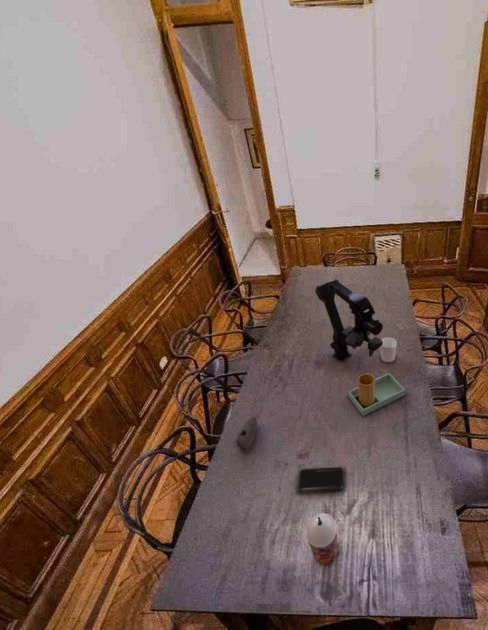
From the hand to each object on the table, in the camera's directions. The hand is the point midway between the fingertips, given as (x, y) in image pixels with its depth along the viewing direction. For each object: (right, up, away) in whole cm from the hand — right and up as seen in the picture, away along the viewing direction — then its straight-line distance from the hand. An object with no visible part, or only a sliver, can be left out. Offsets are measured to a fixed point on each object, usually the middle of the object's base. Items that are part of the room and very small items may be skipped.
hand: (362, 352), depth 154 cm
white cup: (+13, -5, +14) cm, 20 cm away
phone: (-15, -40, -37) cm, 56 cm away
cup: (+2, -19, -9) cm, 21 cm away
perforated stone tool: (-44, -31, -22) cm, 58 cm away
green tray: (+6, -18, -6) cm, 20 cm away
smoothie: (-12, -52, -55) cm, 77 cm away
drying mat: (+2, -19, -9) cm, 21 cm away
